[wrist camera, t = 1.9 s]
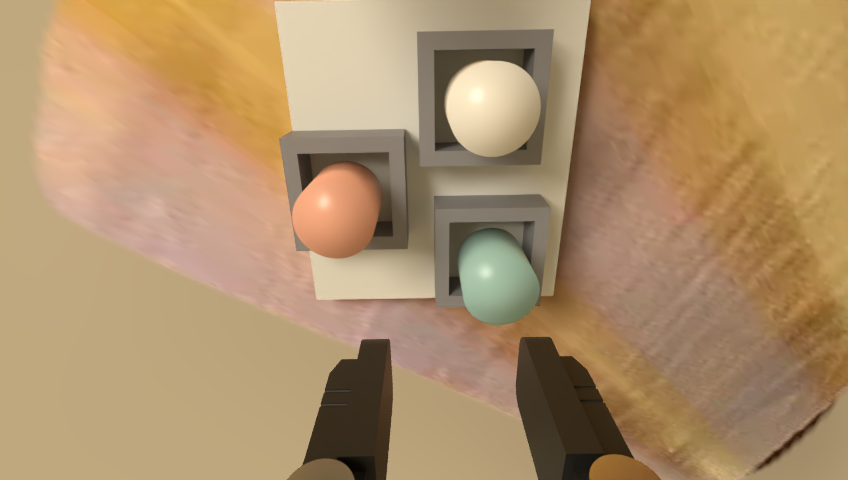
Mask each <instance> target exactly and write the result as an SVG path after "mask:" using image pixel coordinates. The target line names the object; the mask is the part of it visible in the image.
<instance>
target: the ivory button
mask: <svg viewBox="0 0 848 480" xmlns="http://www.w3.org/2000/svg"><path fill="white" fill-rule="evenodd" d="M444 109H445V114H446V117H447V119H448V122H449V124H450V127H451V129H452V132H453V134H454V136H455V137H456V139H457V140H458V141H459V143H460V144H461V145H462V146H463V147H465V148H466V149H467V150H469V151H470V152H472V153H474V154H477V155H480V156H485V157H498V156H503V155H506V154H509V153H511V152H513V151H515V150H517V149H518V148H520V147H521V146H522V145H523V144H524V143H525V142H526V141H527V140H528V139H529V138H530V137H531V135H532V134H533V132H534V130H535V128H536V126H537V124H538V121H539V117H540V111H541V101H540V95H539V91H538V88H537V86H536V84H535V82H534V80H533V79H532V78H531V76H530V75H529V74H528V73H527V72H526V71H525V70H523V69H522V68H521V67H519V66H517V65H515V64H512V63H509V62H504V61H488V60H481V61H475V62H472V63H469V64H467V65H465V66H463V67H462V68H461V69H459V70H458V71H457V72H456V73H455V74H454V75H453V77H452V78H451V80H450V81H449V83H448V85H447V88H446V91H445V96H444Z"/></svg>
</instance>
